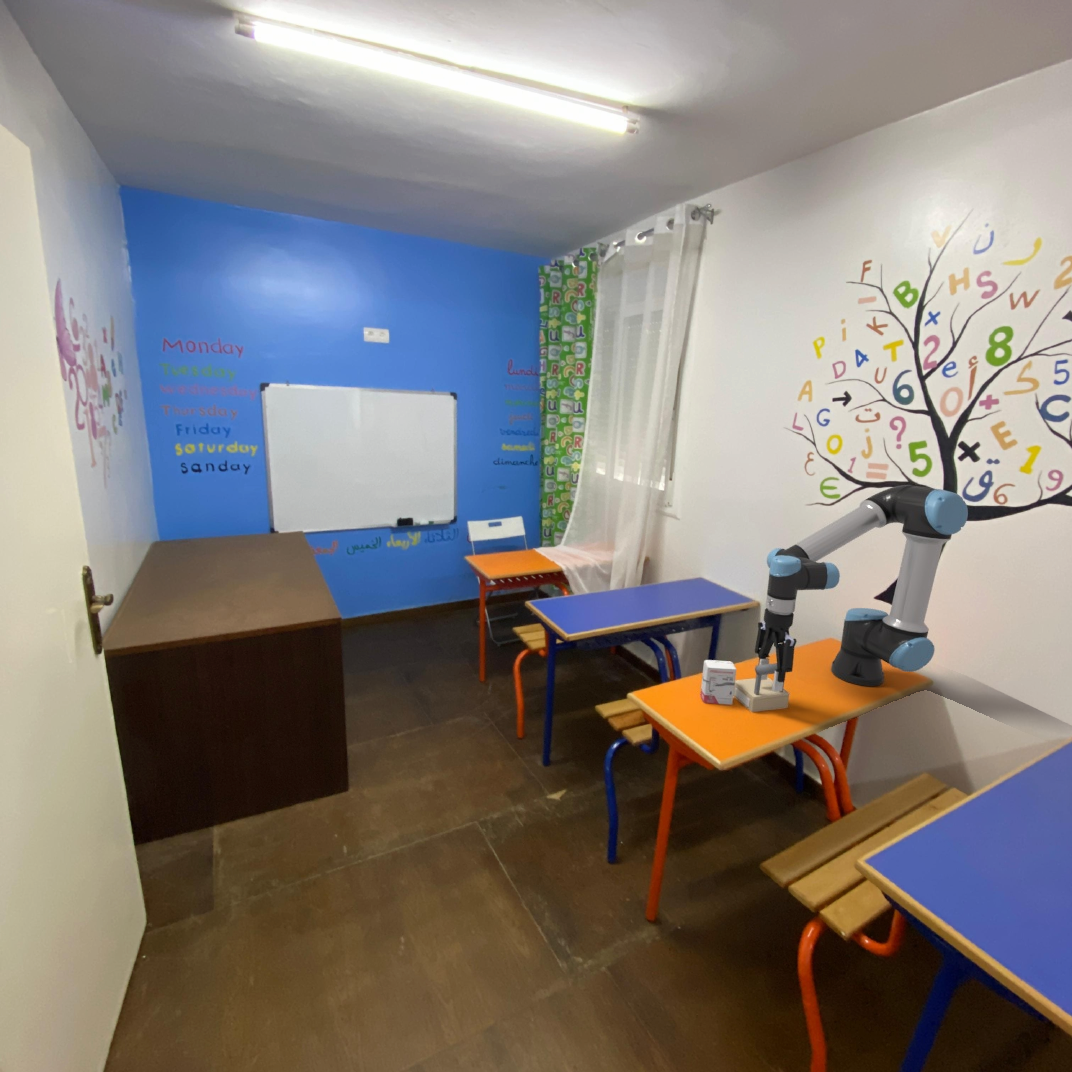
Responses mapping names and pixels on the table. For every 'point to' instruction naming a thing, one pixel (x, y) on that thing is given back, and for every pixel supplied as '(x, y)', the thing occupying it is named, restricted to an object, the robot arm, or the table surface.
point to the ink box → (718, 682)
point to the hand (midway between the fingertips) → (769, 684)
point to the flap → (761, 684)
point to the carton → (760, 701)
